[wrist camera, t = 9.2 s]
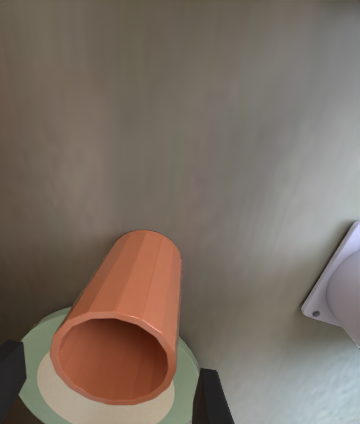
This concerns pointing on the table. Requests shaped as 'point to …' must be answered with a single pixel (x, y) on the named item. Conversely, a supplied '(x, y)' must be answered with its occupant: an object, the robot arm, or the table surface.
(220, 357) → the table surface
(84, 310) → the cup
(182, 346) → the plate
